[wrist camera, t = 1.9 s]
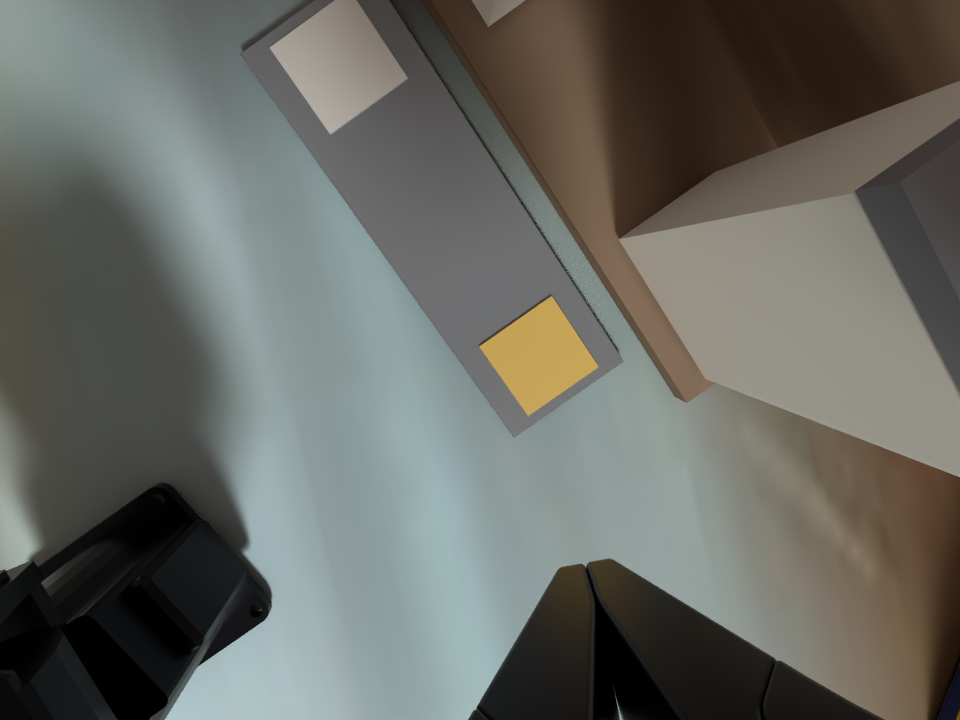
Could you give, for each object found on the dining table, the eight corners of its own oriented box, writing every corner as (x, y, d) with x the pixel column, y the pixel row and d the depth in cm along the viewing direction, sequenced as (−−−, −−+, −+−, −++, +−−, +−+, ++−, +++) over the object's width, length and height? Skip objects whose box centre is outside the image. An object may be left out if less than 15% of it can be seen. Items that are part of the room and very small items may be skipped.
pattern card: (512, 434, 21) (514, 438, 20) (244, 58, 18) (238, 52, 18) (620, 359, 21) (624, 361, 20) (366, -31, 18) (364, -39, 17)
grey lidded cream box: (705, 380, 20) (1074, 526, 8) (616, 238, 19) (900, 181, 7) (798, 315, 20) (1304, 371, 8) (715, 169, 19) (1162, 0, 7)
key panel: (675, 396, 21) (883, 503, 11) (345, -120, 18) (226, -630, 8) (879, 255, 21) (1277, 237, 11) (588, -298, 17) (788, -1060, 7)
